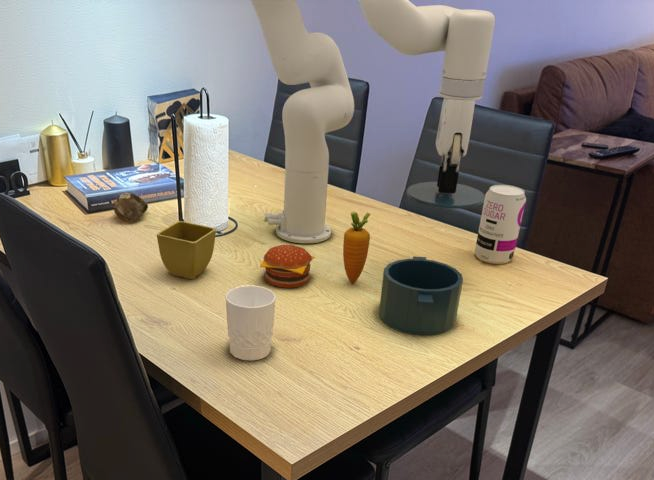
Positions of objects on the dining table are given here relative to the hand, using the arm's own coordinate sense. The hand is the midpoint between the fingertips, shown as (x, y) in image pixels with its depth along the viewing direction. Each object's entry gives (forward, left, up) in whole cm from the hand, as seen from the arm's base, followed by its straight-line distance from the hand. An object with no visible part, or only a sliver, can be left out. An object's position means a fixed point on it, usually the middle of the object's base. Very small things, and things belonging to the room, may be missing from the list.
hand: (446, 189), depth 131 cm
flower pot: (-49, -8, -18) cm, 53 cm away
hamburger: (-29, -7, -18) cm, 35 cm away
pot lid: (0, 0, -1) cm, 1 cm away
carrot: (-16, -7, -18) cm, 25 cm away
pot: (-4, -19, -18) cm, 26 cm away
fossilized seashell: (-70, +21, -18) cm, 75 cm away
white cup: (-32, -36, -18) cm, 52 cm away
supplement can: (+14, +12, -18) cm, 26 cm away
